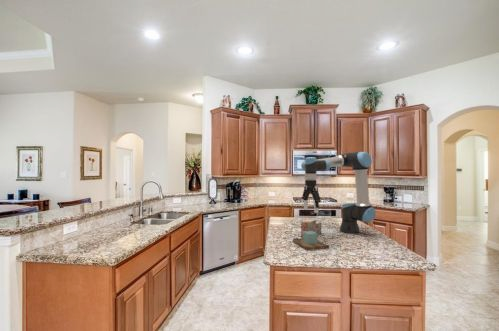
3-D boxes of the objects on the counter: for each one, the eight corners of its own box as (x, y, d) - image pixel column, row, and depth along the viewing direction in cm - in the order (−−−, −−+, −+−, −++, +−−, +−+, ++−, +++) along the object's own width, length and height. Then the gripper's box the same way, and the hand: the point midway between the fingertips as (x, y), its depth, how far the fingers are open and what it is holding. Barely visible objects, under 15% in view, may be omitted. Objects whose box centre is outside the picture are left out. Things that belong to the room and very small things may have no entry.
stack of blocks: (314, 232, 207) (314, 217, 207) (321, 233, 203) (321, 218, 203) (300, 237, 191) (300, 221, 191) (308, 239, 187) (308, 222, 187)
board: (312, 240, 185) (312, 237, 185) (329, 248, 166) (329, 245, 166) (292, 241, 180) (292, 239, 180) (307, 250, 161) (307, 247, 161)
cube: (311, 240, 177) (311, 230, 177) (317, 243, 171) (317, 233, 171) (302, 241, 175) (302, 231, 175) (308, 244, 168) (308, 234, 169)
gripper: (297, 179, 185) (297, 208, 184) (315, 180, 161) (316, 214, 161) (306, 178, 187) (306, 208, 187) (326, 180, 163) (326, 213, 163)
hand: (310, 211), depth 174 cm, fingers open, 13 cm apart
